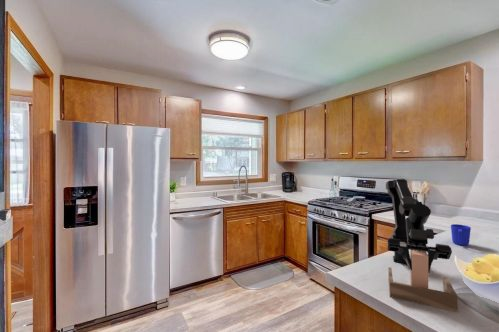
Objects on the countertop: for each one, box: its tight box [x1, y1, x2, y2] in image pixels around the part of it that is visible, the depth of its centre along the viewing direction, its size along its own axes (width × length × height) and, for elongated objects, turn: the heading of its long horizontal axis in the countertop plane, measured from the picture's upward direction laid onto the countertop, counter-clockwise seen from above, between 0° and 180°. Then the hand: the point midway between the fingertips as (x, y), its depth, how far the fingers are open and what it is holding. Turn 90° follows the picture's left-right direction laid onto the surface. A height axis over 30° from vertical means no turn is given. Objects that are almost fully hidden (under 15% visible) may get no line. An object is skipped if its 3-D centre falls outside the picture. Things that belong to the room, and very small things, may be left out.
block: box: [410, 250, 429, 289], centre depth 82 cm, size 4×4×13 cm
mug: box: [450, 223, 472, 247], centre depth 129 cm, size 8×12×10 cm
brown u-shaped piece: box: [387, 266, 459, 313], centre depth 83 cm, size 13×18×5 cm
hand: (419, 271), depth 81 cm, fingers closed on block, 4 cm apart
